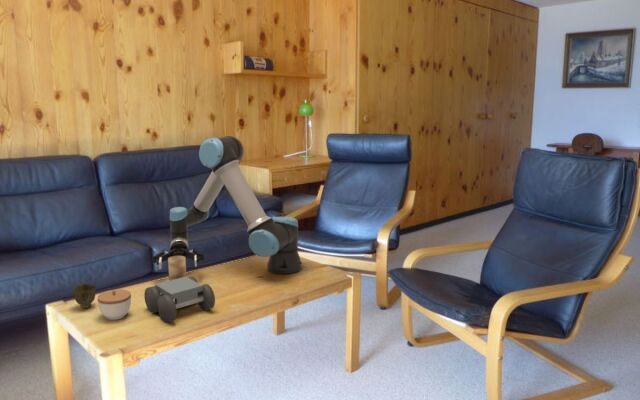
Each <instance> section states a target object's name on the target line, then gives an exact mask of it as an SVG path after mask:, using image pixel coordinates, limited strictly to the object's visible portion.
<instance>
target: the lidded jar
mask: <svg viewBox="0 0 640 400" xmlns="http://www.w3.org/2000/svg"><path fill="white" fill-rule="evenodd" d="M96 298H97V303H98V304H97V305H98V309H99V312H100V314H102V316H103V317H105V319H106V320H110V321H116V320H117V321H118V320H121V319H124V317H126V314H128V312H129V311H130V308H131V304H132V293H131V292H130V290H127V289H120V288H119V289H118V288H117V289H110V290H106V291H104V292H101V293H100V294H98V295H97V297H96Z"/></svg>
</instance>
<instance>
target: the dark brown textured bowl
mask: <svg viewBox="0 0 640 400" xmlns="http://www.w3.org/2000/svg"><path fill="white" fill-rule="evenodd" d="M96 286H97V285H96V284H94V283H92V285H90V283H89V282H88V283H87V282H84V283H83V284H82V283H80V285H79V284H76V285H74V287H72V291H73V296H74V300H75V302H76V303H77V304H78V305H79V307H80V308H81V309H83V310H87V309H90V308H91V307H92V303H93V302H94V301H95V299H96Z"/></svg>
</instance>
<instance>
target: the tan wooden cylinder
mask: <svg viewBox="0 0 640 400" xmlns="http://www.w3.org/2000/svg"><path fill="white" fill-rule="evenodd" d="M186 261H187V259H185V257H184V256H172V257H169V258H168V260H167V263H168V281H170V280H174V279H178V278H182V277H187V262H186Z"/></svg>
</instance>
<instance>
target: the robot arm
mask: <svg viewBox="0 0 640 400" xmlns="http://www.w3.org/2000/svg"><path fill="white" fill-rule="evenodd" d="M244 149H245V148H244V145H243V144H242V141H241V140H240V139H239V138H237V137H235V136H232V135H227V136H221V137H211V138H209V139H205V140H204V141H203V142H202V143H201V145H200V146H199V151H198V157H199V160H200V162H201V164H202V165H203V167H207V168H208V169H211V173H210V174H209V176H208V178H207V180H206V181H205V183H204V185H203V187H202V188H201V190H200V192H199V193H198V195H197V196H196V199H195V200H194V202H193V204H192V205H191V207H190V208H186V207H185V206H176V207H173V208H172V207H171V209H169V225H170V226H169V228H170V229H169V230H170V231H169V232H170V248H169V250H168V251H167V250H164V249H162V250H161V251H160V252H159V253H156V254H155V255H152V257H151V258H152V259H151V260H152V264H156V265H157V266H158V269H159V270H162V265H163V263H164V262H166V261H168V258H169V257H172V256H184V257H185V259H186V260H187V259H189V260H192V261H194V267H196V268H197V267H198V264H197V263H200V261H204V259H205V257H204V256H205V254H204V253H202V252H200V251H199V250H198V249H197V250H196V248H192V249H191V250H189V229H188V227H189V226H190V227H191V226H192V225H196V224H198V223H202V222H204V221H206V220H207V219H209V216H210V209H211V207H212V205H213V204H214V202H215V200H216V198H217V197H218V195H219V194H220V192H221V191H222V189H223V187H224V186H225V188H226V190H227V191H228V193H229V195H230V197H231V198H232V200H233V202H234V203H235V206H236V207H237V208H238V211H239V212H240V214H241V216H242V217H243V219H244V221H245V222H246V224H247V229H246V230H247V231H246V232H247V234H248V236H249V237H248V246H249V248H250V250H251V251H252V252H253V254H255V255H256V256H258V257H262V258H268V257H269V258H268V261H267V264H266V265H267V267H266V269H267V271H268V272H270V273H273V274H278V275H290V274H295V273H298V272H300V271H301V270H302V268H303V265H302V260H301V258H300V255H299V221H298V219H297V218H294V217H290V216H289V217H288V216H273V217H271V216H268V215H267V214H266V212H265V211H264V208H263V207H262V206H261V204H260V202H259V201H258V199H257V196H256V195H255V193H254V192H253V190H252V188H251V186H250V184H249V183H248V181H247V180H246V177H245V176H244V174H243V173H242V171H241V169H240V167H239V166H240V163H241V162H242V159H243V158H244V153H245V152H244Z"/></svg>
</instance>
